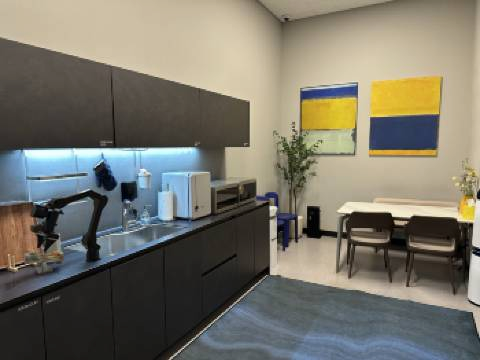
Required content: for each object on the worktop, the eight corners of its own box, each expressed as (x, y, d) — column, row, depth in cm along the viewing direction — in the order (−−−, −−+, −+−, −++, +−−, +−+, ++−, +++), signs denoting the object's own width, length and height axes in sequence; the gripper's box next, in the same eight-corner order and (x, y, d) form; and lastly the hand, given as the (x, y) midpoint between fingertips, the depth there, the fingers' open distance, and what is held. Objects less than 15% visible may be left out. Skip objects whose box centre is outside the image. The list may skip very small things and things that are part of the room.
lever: (60, 260, 191) (61, 250, 191) (63, 264, 186) (63, 253, 186) (23, 263, 180) (24, 252, 180) (24, 267, 175) (25, 256, 175)
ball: (54, 257, 189) (56, 250, 189) (59, 259, 187) (60, 251, 187) (48, 257, 185) (49, 250, 185) (52, 259, 183) (54, 252, 183)
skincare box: (58, 261, 199) (56, 236, 198) (46, 262, 198) (44, 237, 196) (62, 256, 207) (60, 233, 206) (51, 257, 206) (49, 234, 204)
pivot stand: (50, 266, 190) (49, 256, 189) (53, 271, 181) (52, 260, 181) (35, 269, 186) (34, 258, 185) (38, 274, 177) (37, 263, 177)
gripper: (28, 215, 180) (18, 244, 177) (41, 220, 168) (31, 251, 165) (50, 219, 189) (40, 247, 186) (64, 224, 177) (54, 254, 174)
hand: (41, 249), depth 177 cm, fingers open, 9 cm apart
